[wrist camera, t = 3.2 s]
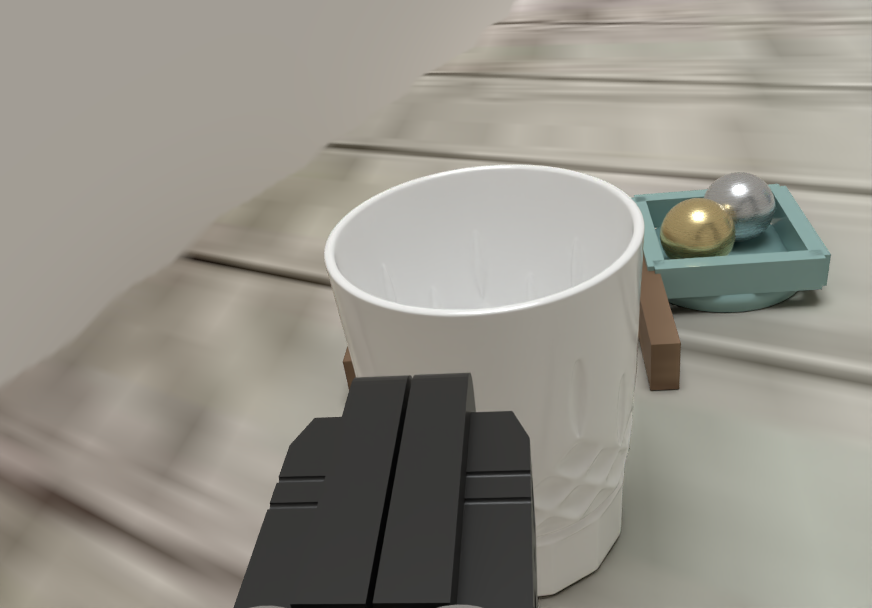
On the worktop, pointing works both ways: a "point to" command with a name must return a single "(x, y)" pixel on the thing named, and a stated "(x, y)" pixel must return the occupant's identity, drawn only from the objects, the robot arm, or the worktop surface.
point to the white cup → (511, 324)
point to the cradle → (653, 335)
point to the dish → (738, 259)
